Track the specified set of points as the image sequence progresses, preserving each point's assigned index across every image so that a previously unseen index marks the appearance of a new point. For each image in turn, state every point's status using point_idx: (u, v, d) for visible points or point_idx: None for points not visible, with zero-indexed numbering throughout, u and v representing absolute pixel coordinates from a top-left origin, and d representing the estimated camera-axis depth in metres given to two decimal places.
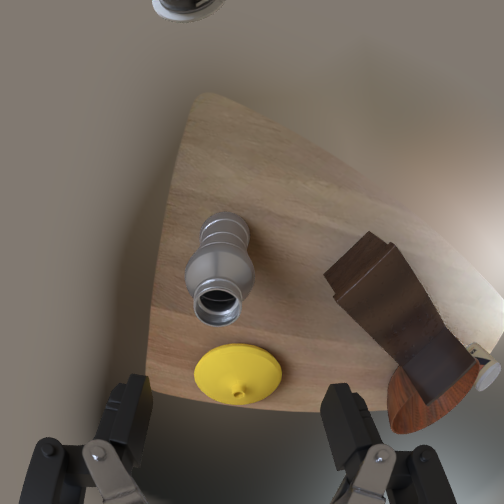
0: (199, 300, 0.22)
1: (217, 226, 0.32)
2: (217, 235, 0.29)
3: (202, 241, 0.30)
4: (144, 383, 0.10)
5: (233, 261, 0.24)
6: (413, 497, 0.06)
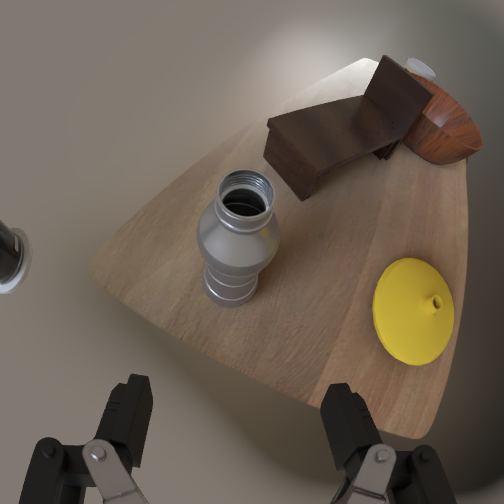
0: None
1: None
2: None
3: (211, 276, 0.25)
4: (144, 383, 0.10)
5: (215, 200, 0.20)
6: (413, 497, 0.06)
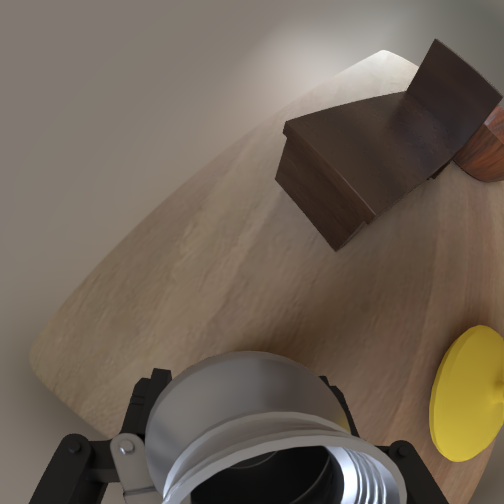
0: None
1: None
2: None
3: None
4: (168, 377, 0.10)
5: (175, 404, 0.06)
6: None
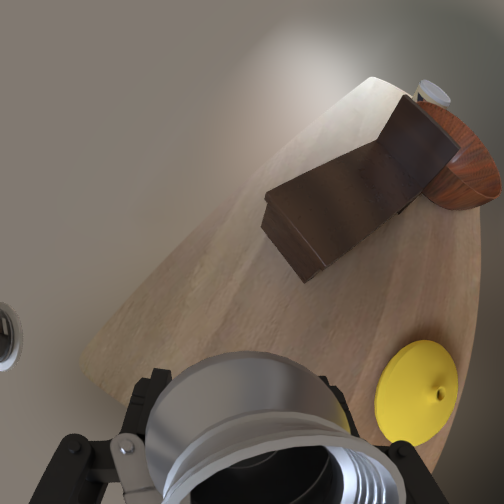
0: None
1: None
2: None
3: None
4: (167, 377, 0.10)
5: (175, 404, 0.06)
6: None
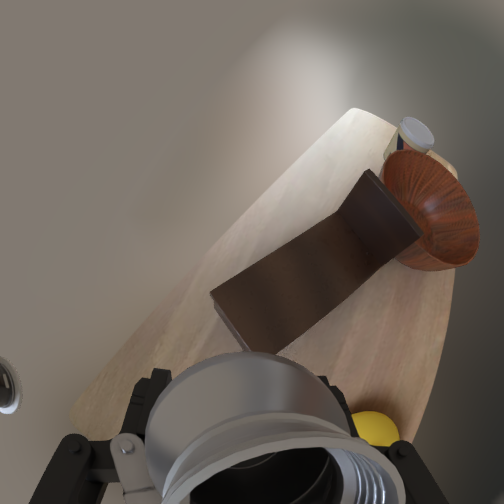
0: None
1: None
2: None
3: None
4: (168, 377, 0.10)
5: (175, 405, 0.06)
6: None
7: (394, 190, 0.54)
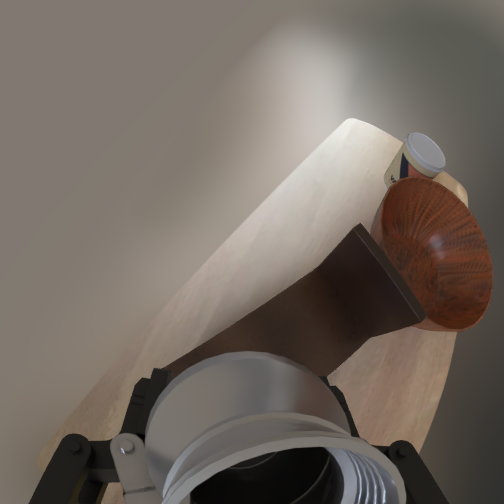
0: None
1: None
2: None
3: None
4: (167, 377, 0.10)
5: (175, 405, 0.06)
6: None
7: (394, 223, 0.45)
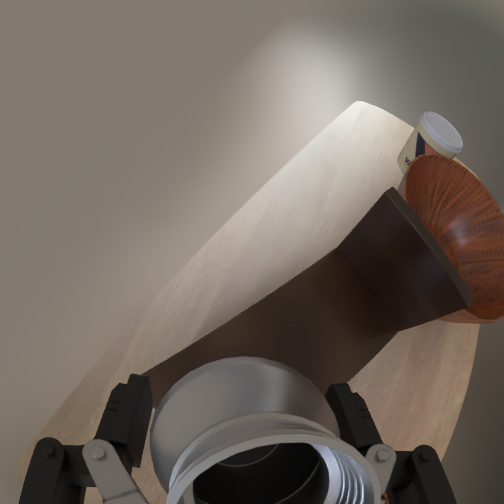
0: None
1: None
2: None
3: None
4: (144, 383, 0.10)
5: (178, 406, 0.06)
6: (413, 497, 0.06)
7: (412, 207, 0.39)
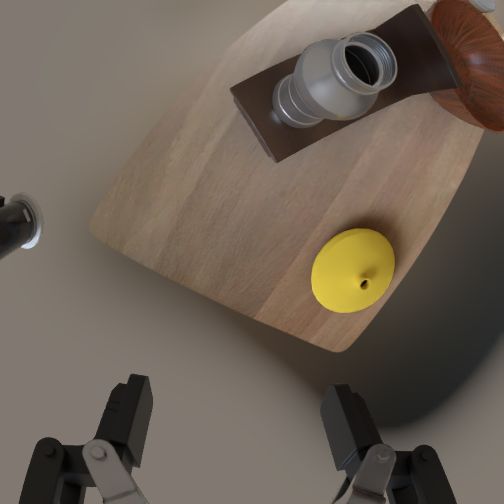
0: None
1: (283, 91, 0.23)
2: (291, 81, 0.20)
3: (294, 105, 0.22)
4: (144, 383, 0.10)
5: (319, 46, 0.14)
6: (413, 497, 0.06)
7: (440, 28, 0.29)
